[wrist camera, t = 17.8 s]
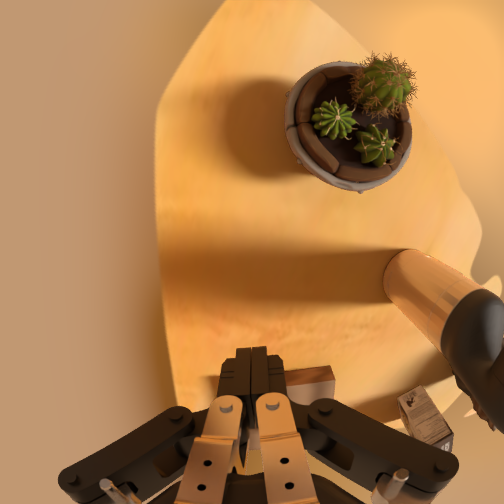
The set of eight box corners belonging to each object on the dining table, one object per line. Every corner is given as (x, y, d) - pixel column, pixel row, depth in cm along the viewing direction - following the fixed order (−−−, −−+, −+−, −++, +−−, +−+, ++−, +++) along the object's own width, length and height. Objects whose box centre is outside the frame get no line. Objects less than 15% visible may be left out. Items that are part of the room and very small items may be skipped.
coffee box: (423, 405, 49) (452, 452, 34) (400, 418, 50) (424, 468, 35) (421, 383, 47) (455, 433, 32) (395, 397, 48) (424, 451, 33)
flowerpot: (351, 207, 38) (429, 236, 19) (256, 151, 37) (258, 124, 17) (394, 125, 35) (484, 100, 16) (305, 68, 33) (344, -9, 14)
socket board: (330, 365, 45) (335, 379, 41) (325, 428, 50) (328, 441, 46) (226, 375, 46) (224, 390, 42) (239, 436, 51) (238, 450, 47)
